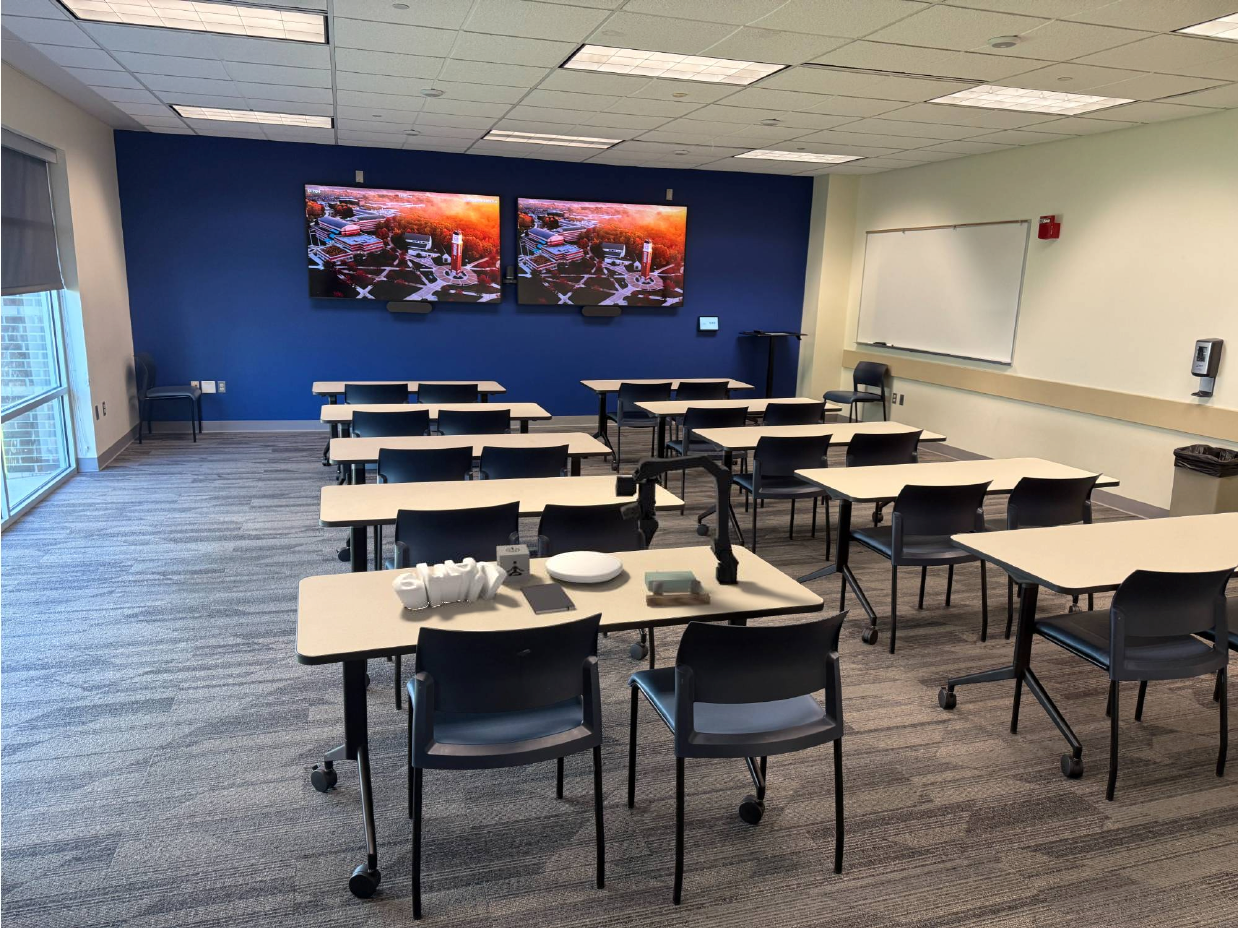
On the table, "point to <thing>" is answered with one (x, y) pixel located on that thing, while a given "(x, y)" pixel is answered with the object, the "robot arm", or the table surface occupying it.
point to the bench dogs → (677, 596)
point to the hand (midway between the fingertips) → (645, 541)
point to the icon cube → (514, 563)
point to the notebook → (547, 598)
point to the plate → (583, 566)
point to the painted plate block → (670, 579)
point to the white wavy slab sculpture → (449, 583)
